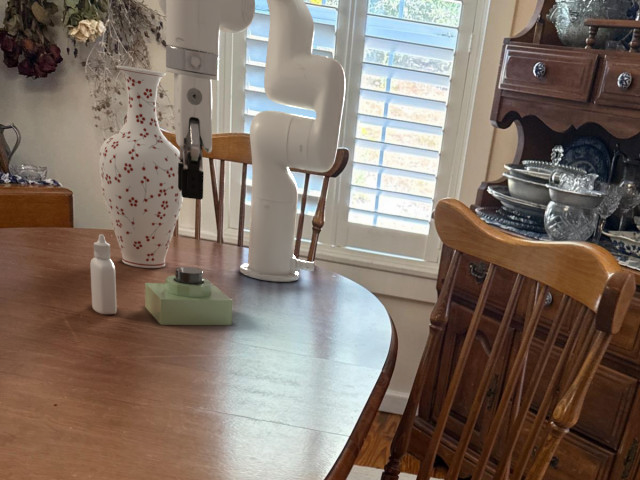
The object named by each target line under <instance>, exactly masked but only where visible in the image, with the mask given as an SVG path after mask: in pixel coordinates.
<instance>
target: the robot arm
mask: <svg viewBox="0 0 640 480" xmlns="http://www.w3.org/2000/svg"><path fill="white" fill-rule="evenodd" d="M157 2H158V4H159V7H160V9H161V12H162V13H163V14H164V15H165V73H170V74H171V73H173V113H174V115H173V116H174V117H173V118H174V134H175V143H176V144H177V145H178V147H179V152H180V163H178V188H179V190H182V192H181V194H182V197H183V199H192V200H203V198H204V173H205V172H204V171H203V170H204V169H203V167H204V166H203V165H204V163H203V159H204V158H203V152H204V151H205V152H206V153H208V154H210V153H211V152H212V151H213V90H212V89H213V88H212V87H213V86H212V81H219V64H220V63H219V60H220V58H219V57H220V32H223V33H229V34H239V33H243V32H244V31H246V30H247V29H248V28H250V26H251V25H252V23H253V21H254V18H255V14H256V1H255V0H157ZM266 3H267V7H268V12H269V30H268V38H267V39H268V40H267V49H266V57H265V67H264V78H263V84H264V88H263V89H264V92H265V95H266V97H267V98H268V99H269V100H270V101H271V102H274V103H275V104H279V105H282V106H287V107H291V108H297V109H303V110H308V111H313V112H314V113H315V114H316V115H315V117H309V116H305V115H304V116H303V115H299V114H296V113H290V112H284V111H280V110H279V111H278V110H264V111H260V112H259V113H257V114H255V116H253V118H252V120H251V122H250V127H249V142H250V144H249V145H250V153H251V166H252V167H251V169H252V172H251V173H252V175H251V177H252V178H251V197H250V199H251V200H250V215H249V216H250V218H249V236H248V237H249V238H248V253H247V255H248V257H247V262H246V263H242V264H241V265H240V266H239V267H240V268H239V271H240V273H241V274H243V275H245V276H247V277H249V278H253V279H256V280H260V281H261V280H262V281H268V282H277V283H278V282H279V283H288V282H295V281H297V280H299V277H300V273H299V272H300V271H307V272H314V271H315V261H307V260H305V259H299V258H297V257H296V256H295V255H294V250H295V240H296V239H295V237H296V226H297V214H298V204H299V203H298V202H299V201H298V200H299V190H298V189H299V188H298V185H297V182H296V180H295V178H294V176H293V174H292V173H291V170H290V168H292V169H297V170H303V171H310V172H315V173H327V172H328V171H330V170H331V169H332V168H333V166H334V164H335V161H336V157H337V152H338V146H339V140H340V139H339V138H340V131H341V124H342V119H343V118H342V117H343V111H344V104H345V96H346V75H345V71H344V68H343V66H342V64H341V63H340V62H339V61H338V60H337V59H336V58H333V57H330V56H326V55H319V54H315V53H314V54H313V46H314V36H315V22H314V19H313V17H312V14H311V12H310V10H309V8H308V6H307V4H306V2H305V1H304V0H266ZM203 149H204V151H203Z"/></svg>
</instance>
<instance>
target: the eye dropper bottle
mask: <svg viewBox="0 0 640 480" xmlns="http://www.w3.org/2000/svg"><path fill="white" fill-rule="evenodd" d="M89 266H90V267H89V268H90V288H91V289H90V290H91V306H92V309H93V311H95V312H96V313H97V314H101V315H116V313H117V286H116V285H117V284H116V283H117V281H116V266H115V264H114V262H113V260H112V259H111V244H110V243H108V242H107V241H106V239H105V235H104V234H102V233H101V234H98V239H97V241H95V242H93V258H91V260H90V265H89Z"/></svg>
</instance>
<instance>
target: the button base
mask: <svg viewBox="0 0 640 480" xmlns="http://www.w3.org/2000/svg"><path fill="white" fill-rule="evenodd" d="M144 302H145V303H144V304H145V305H144V306H145V309H146V310H147V311H148V312H149V313H150V314H151V316H152V317H153V318H154V319H155V320H156V321H157V322H158V323H159V325H160V326H167V325H168V326H177V325H178V326H232V324H233V306H234V305H233V303H234V300H233V299H232V298H231V297H230V296H228V295H227V294H225V292H223V291H222V290H221V289H220V288H219V287H218V286H216V285H215V284H213V282H212V281H211V280H209V279H207V278H204V277H203V278H202V284H199V285H189V284H183V283H179V282H176V281H175V275H174V274H173V275H169V276H167V277H166V278H165V283H164V282H163V283H162V282H145V283H144Z"/></svg>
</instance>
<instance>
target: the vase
mask: <svg viewBox="0 0 640 480" xmlns="http://www.w3.org/2000/svg"><path fill="white" fill-rule="evenodd" d="M116 68H117V69H119V71H120V72H121V74H122V76H123V79H124V83H125V88H126V94H127V112H126V116H125V120H124V123H123V125H122V127H121V129H120V130H119V131H117V132H116V133H115V134H112V135H111V136H110V137H108V138H107V139H105V140H104V142H103V143H102V145H101V146H100V148H99V156H98V157H99V159H98V169H99V179H100V185H101V194H102V198H103V201H104V204H105V207H106V211H107V213H108V216H109V219H110V223H111V225H112V229H113V231H114V234H115V238H116V240H117V244H118V247H119V250H120V253H121V258H122V259H121V262H122V263H124V264H125V265H128V266H131V267H136V268H144V269H158V268H163V267H165V266H166V257H167V253H168V250H169V247H170V244H171V241H172V238H173V235H174V232H175V228H176V225H177V222H178V219H179V216H180V212H181V210H182V205H183V201H184V197H182V194H181V192H182V190H179V188H178V163H180V149H179V148H177V147H176V146H175V145H174V144H173V143H172V142H170V140H168V139H167V137H166V136H165V135H164V134H163V132H162V129H161V127H160V124H159V120H158V116H157V97H158V91H159V85H160V82H161V79H162V78H163V77H165V76H167V72H163V71H158V70H153V69H147V68H141V67H135V66H129V65H116Z"/></svg>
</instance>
